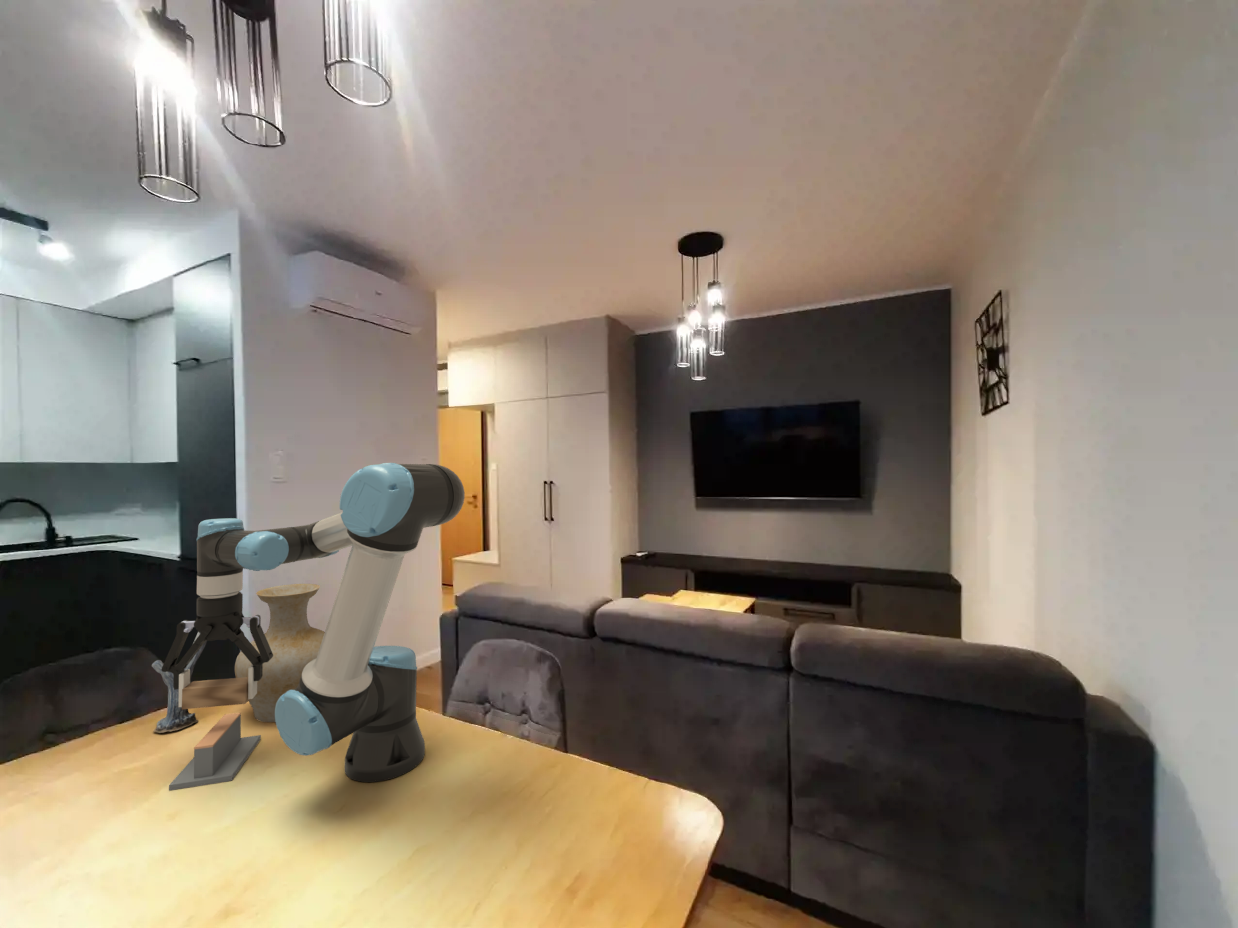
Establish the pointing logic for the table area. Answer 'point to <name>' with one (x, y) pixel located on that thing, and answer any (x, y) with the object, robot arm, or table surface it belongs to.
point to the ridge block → (217, 755)
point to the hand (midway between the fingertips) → (219, 700)
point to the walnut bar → (215, 693)
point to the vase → (283, 646)
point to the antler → (175, 699)
